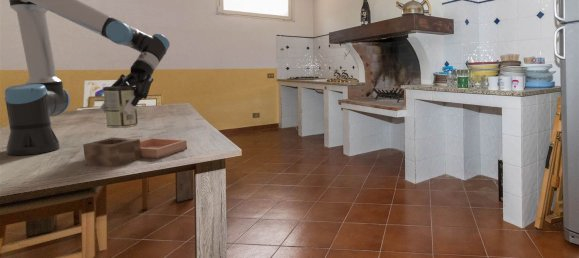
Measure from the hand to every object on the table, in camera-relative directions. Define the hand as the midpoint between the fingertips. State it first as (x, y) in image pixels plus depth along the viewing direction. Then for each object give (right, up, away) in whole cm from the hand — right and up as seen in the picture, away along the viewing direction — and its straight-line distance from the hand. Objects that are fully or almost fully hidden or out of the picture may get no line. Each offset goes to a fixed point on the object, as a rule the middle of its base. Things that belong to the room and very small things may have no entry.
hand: (114, 111), depth 120 cm
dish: (+15, -14, -2) cm, 21 cm away
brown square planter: (+7, -16, -13) cm, 22 cm away
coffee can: (+1, -5, +4) cm, 6 cm away
